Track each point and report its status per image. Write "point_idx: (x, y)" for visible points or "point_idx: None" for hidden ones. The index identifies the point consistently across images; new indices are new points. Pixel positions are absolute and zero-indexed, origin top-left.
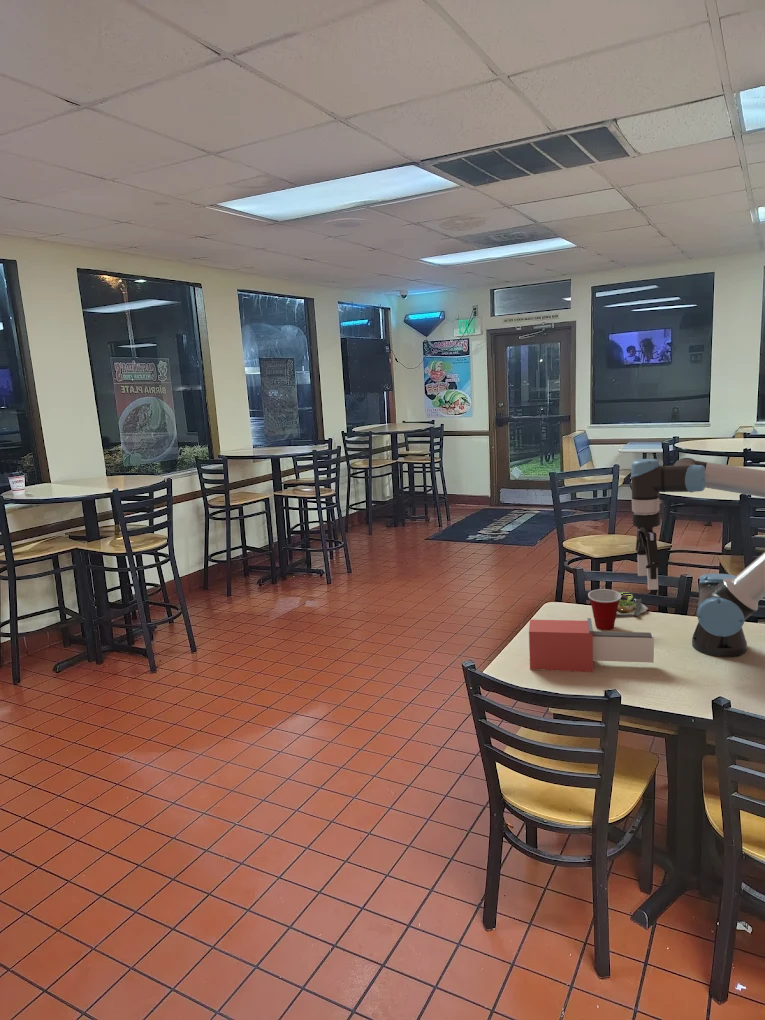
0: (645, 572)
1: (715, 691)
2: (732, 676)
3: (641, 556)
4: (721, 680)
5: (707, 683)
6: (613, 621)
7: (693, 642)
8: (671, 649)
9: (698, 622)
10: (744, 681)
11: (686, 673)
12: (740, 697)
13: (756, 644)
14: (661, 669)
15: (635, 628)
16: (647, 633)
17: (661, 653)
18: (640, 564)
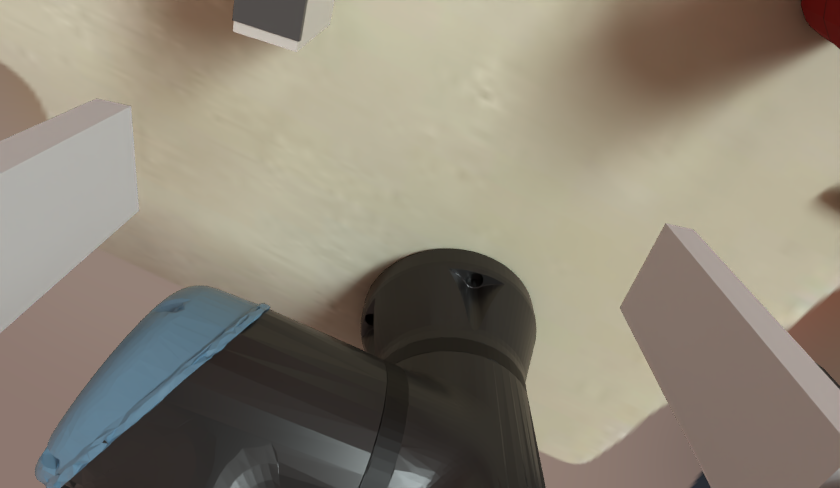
0: (642, 313)
1: None
2: (218, 247)
3: (795, 476)
4: (186, 203)
5: (158, 149)
6: (824, 26)
7: (466, 260)
8: (472, 171)
9: (485, 332)
10: (182, 259)
11: (243, 119)
12: None
13: None
14: None
15: (744, 133)
16: (286, 15)
17: (444, 116)
18: (724, 344)
